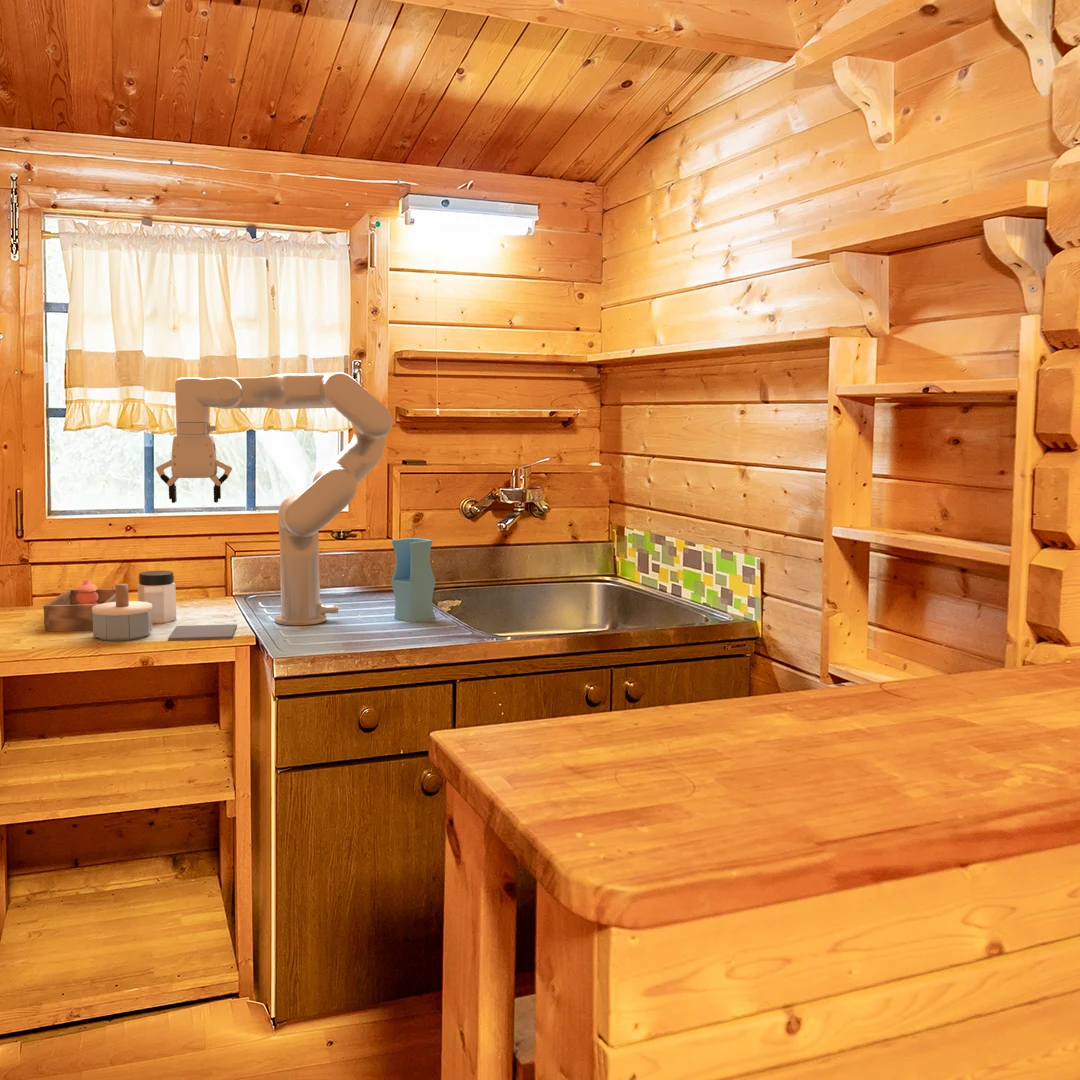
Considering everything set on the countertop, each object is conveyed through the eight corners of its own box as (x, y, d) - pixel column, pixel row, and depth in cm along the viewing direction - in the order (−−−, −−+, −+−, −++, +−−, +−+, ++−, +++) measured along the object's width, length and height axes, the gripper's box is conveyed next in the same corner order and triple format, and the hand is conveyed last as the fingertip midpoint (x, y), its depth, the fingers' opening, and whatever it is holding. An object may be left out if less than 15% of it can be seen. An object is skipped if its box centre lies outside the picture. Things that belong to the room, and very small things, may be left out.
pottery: (96, 629, 262) (94, 589, 261) (53, 631, 260) (52, 590, 259) (111, 615, 279) (109, 577, 278) (71, 616, 278) (69, 578, 276)
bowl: (154, 629, 261) (153, 605, 261) (145, 640, 250) (145, 614, 249) (101, 631, 259) (100, 606, 258) (90, 641, 247) (89, 615, 247)
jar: (180, 621, 272) (179, 573, 271) (147, 625, 267) (146, 576, 266) (167, 615, 279) (165, 569, 278) (135, 619, 274) (133, 572, 272)
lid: (156, 604, 261) (155, 579, 261) (147, 614, 249) (146, 588, 248) (98, 606, 259) (97, 580, 258) (86, 616, 246) (85, 589, 245)
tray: (125, 611, 285) (124, 588, 284) (107, 629, 261) (106, 604, 261) (68, 612, 282) (67, 589, 281) (44, 631, 259) (43, 606, 258)
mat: (236, 626, 266) (236, 624, 266) (231, 638, 252) (231, 636, 252) (176, 628, 263) (176, 625, 263) (168, 640, 250) (168, 637, 250)
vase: (391, 618, 279) (390, 540, 276) (415, 614, 284) (414, 537, 282) (411, 622, 273) (411, 542, 271) (435, 618, 279) (435, 540, 277)
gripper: (232, 430, 265) (234, 500, 267) (157, 429, 262) (159, 501, 264) (229, 430, 258) (231, 503, 260) (152, 430, 254) (154, 504, 256)
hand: (195, 502), depth 262 cm, fingers open, 9 cm apart
